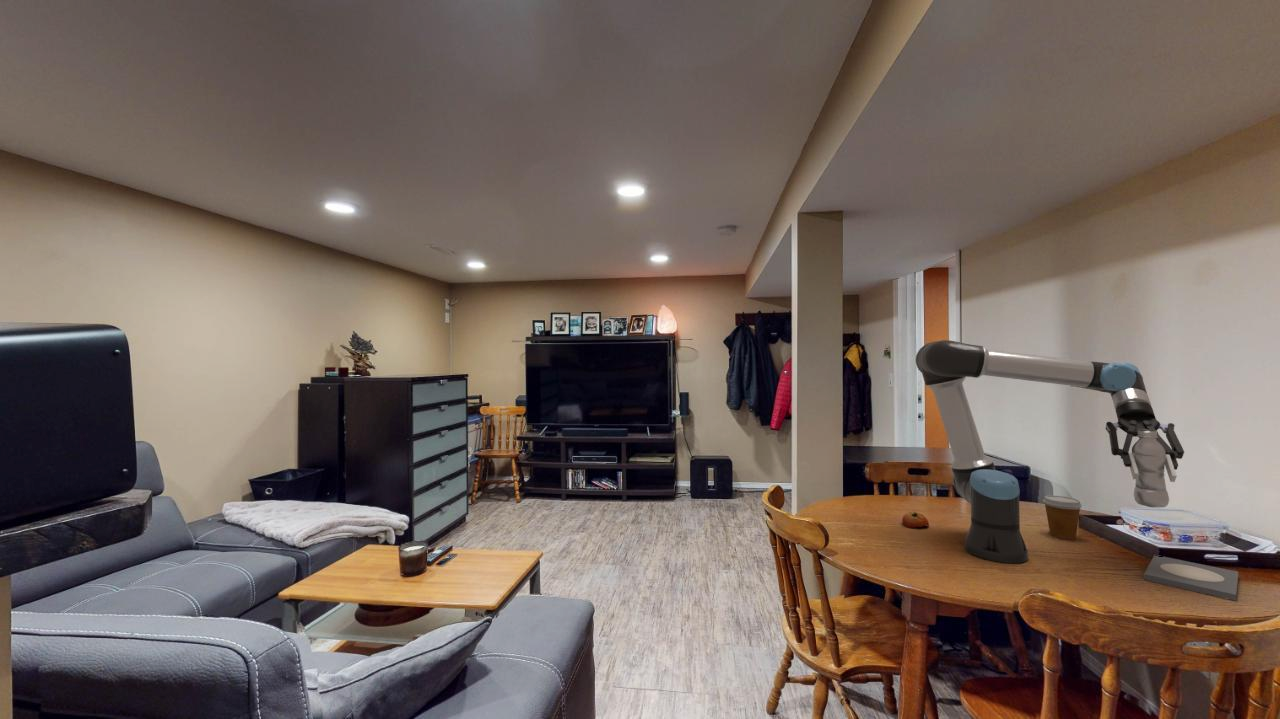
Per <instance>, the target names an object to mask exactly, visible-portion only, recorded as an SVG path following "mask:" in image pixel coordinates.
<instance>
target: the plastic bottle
mask: <svg viewBox="0 0 1280 719" xmlns="http://www.w3.org/2000/svg"><path fill="white" fill-rule="evenodd" d="M1157 432H1158V430H1157V431H1155V430H1138V435H1137V437H1136V438H1138V440H1136V442H1134V444H1133V445H1132V447H1131V453H1133V455H1134V458H1135V462H1136V465H1137V469H1138V472H1139V475H1138V478H1137V479H1135V486H1134V490H1133V498H1134V501H1135V502H1136V503H1137V504H1138V505H1140V506H1145V507H1148V508H1154V509H1155V508H1166V507H1167V506H1168V505H1169V502H1170V498H1169V492H1168V490H1167V485H1166V479H1165V459H1166V450H1165V448H1164V447H1163V446H1162V445H1161V444H1160V443H1159V442H1158V441H1157V438H1158V436H1157Z"/></svg>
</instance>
